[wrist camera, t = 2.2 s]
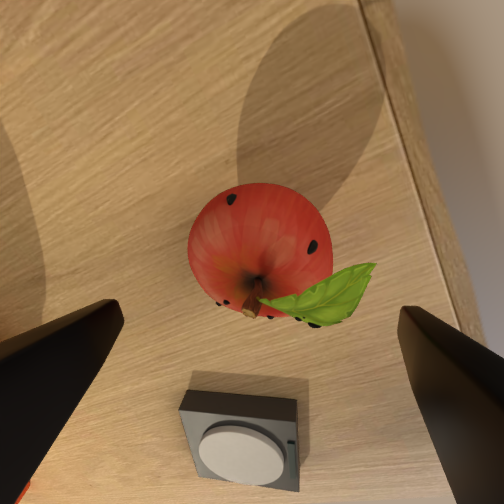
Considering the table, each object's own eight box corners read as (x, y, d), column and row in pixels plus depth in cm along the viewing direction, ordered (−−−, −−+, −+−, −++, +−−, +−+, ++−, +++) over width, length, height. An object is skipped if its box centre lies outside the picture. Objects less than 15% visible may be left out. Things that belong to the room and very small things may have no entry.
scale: (296, 399, 23) (296, 430, 21) (299, 468, 27) (299, 500, 25) (186, 389, 25) (175, 416, 23) (204, 455, 29) (196, 484, 27)
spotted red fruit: (274, 290, 19) (249, 435, 10) (196, 228, 18) (92, 328, 9) (361, 210, 16) (435, 321, 7) (271, 129, 15) (222, 135, 6)
